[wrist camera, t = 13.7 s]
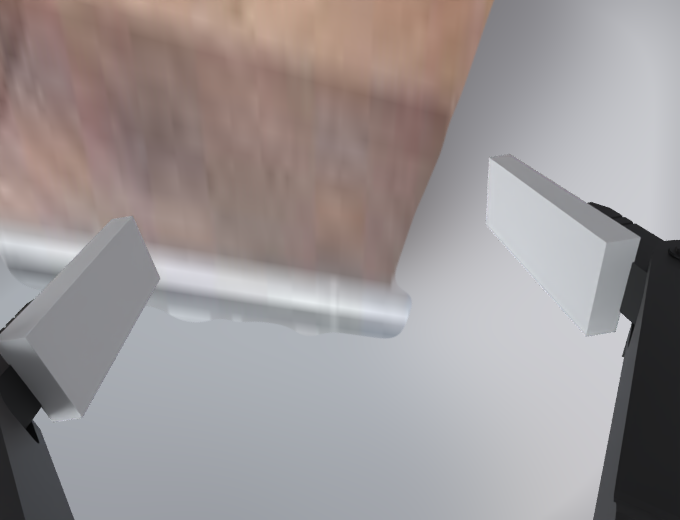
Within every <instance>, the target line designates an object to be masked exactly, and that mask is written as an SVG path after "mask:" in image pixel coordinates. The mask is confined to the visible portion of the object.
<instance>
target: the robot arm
mask: <svg viewBox="0 0 680 520" xmlns="http://www.w3.org/2000/svg"><path fill="white" fill-rule="evenodd" d="M486 226H487V227H488V228H489V229H490V230H491V231H492V233H494V235H495V236H496V237H497V238H498V239H499V240H500V241H501V243H502V244H503V245H504V246H505V247H506V248H507V249H508V250H509V252H510V253H511V254H512V255H513V256H514V257H515V258H516V259H517V260H518V261H519V262H520V264H521V265H522V266H523V267H524V268H525V269H526V270H527V271H528V273H529V274H530V275H531V276H532V277H533V278H534V279H535V280H536V282H537V283H538V284H539V285H540V286H541V287H542V288H543V289H544V290H545V291H546V293H547V294H548V295H549V296H550V297H551V298H552V299H553V300H554V301H555V303H556V304H557V305H558V306H559V307H560V308H561V309H562V310H563V312H564V313H565V314H566V315H567V316H568V317H569V318H570V319H571V320H572V322H573V323H574V324H575V325H576V326H577V327H578V328H579V329H580V331H582V333H583V334H584V335H585V336H592V335H598V334H604V333H611V332H616V328H617V324H618V321H619V317H620V313H622V314H623V315H624V316H625V317H626V318H627V319H629V320H630V321H631V322H632V324H631V328H630V331H629V334H628V338H627V341H626V345H625V348H624V352H623V355H622V357H624V361H623V366H622V372H621V377H620V382H619V387H618V392H617V398H616V403H615V408H614V413H613V419H612V424H611V430H610V434H609V440H608V445H607V450H606V456H605V461H604V466H603V471H602V476H601V482H600V487H599V492H598V498H597V503H596V508H595V513H594V518H593V520H680V240H671V241H663V240H662V239H660V238H658V237H657V236H655V235H654V234H652V233H650V232H649V231H647V230H645V229H644V228H642V227H640V226H639V225H637V224H633V222H632V221H630V220H629V219H627V218H626V217H622V215H620V214H619V213H617V212H616V211H614V210H612V209H611V208H608V207H605V206H602V205H599V204H596V203H593V202H590V203H586V202H584V201H583V200H581V199H580V198H578V197H577V196H575V195H573V194H572V193H570V192H569V191H567V190H566V189H564V188H563V187H561V186H559V185H558V184H556V183H555V182H553V181H552V180H550V179H548V178H547V177H545V176H544V175H542V174H541V173H539V172H538V171H536V170H534V169H533V168H531V167H530V166H528V165H526V164H525V163H523V162H522V161H520V160H519V159H517V158H516V157H514V156H512V155H511V154H507V155H501V156H495V157H489V171H488V193H487V214H486ZM159 280H160V276H159V274H158V272H157V270H156V267H155V265H154V263H153V261H152V258H151V256H150V254H149V252H148V249H147V247H146V245H145V243H144V240H143V238H142V236H141V234H140V231H139V229H138V227H137V225H136V222H135V220H134V218H133V216H129V217H122V218H116V219H112V220H111V221H110V222H109V223H108V224H107V225H106V226H105V227H104V228H103V229H102V230H101V231H100V232H99V233H98V234H97V235H96V236H95V237H94V238H93V239H92V240H91V241H90V242H89V243H88V244H87V245H86V246H85V247H84V248H83V249H82V251H81V252H80V253H79V254H78V255H77V256H76V257H75V258H74V259H73V260H72V261H71V262H70V263H69V264H68V265H67V266H66V267H65V268H64V269H63V270H62V271H61V272H60V273H59V274H58V275H57V276H56V277H55V278H54V279H53V280H52V281H51V282H50V283H49V284H48V285H47V286H46V288H45V289H44V290H43V291H42V292H41V293H40V294H39V295H38V296H37V297H36V298H35V299H33V300H32V301H30V302H29V303H27V304H26V305H25V306H24V307H23V308H22V309H21V310H20V311H19V312H18V313H17V314H16V315H15V318H12V319H11V320H10V321H9V322H8V323H7V324H6V327H5V328H2V329H1V330H0V520H74V518H73V515H72V513H71V510H70V507H69V504H68V502H67V499H66V496H65V494H64V491H63V488H62V486H61V483H60V480H59V478H58V475H57V472H56V470H55V467H54V465H53V462H52V459H51V457H50V454H49V451H48V449H47V446H46V444H45V441H44V438H43V435H42V433H41V430H40V428H39V427H38V426H37V425H36V423H35V422H34V421H33V418H34V417H35V415H36V414H37V412H38V411H39V409H40V408H41V407H42V408H43V410H44V411H45V412H46V414H47V415H48V416H49V418H50V419H51V420H52V421H53V422H59V421H65V420H70V419H78V418H82V417H83V416H84V414H85V412H86V410H87V409H88V407H89V405H90V403H91V401H92V400H93V398H94V396H95V394H96V393H97V390H98V389H99V387H100V385H101V384H102V382H103V380H104V378H105V376H106V375H107V373H108V371H109V369H110V367H111V366H112V364H113V362H114V360H115V359H116V357H117V355H118V353H119V351H120V349H121V348H122V346H123V344H124V342H125V340H126V339H127V337H128V335H129V334H130V332H131V330H132V328H133V326H134V325H135V323H136V321H137V319H138V317H139V316H140V314H141V312H142V310H143V308H144V307H145V305H146V303H147V301H148V300H149V298H150V296H151V294H152V292H153V291H154V289H155V287H156V285H157V283H158V282H159Z"/></svg>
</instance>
